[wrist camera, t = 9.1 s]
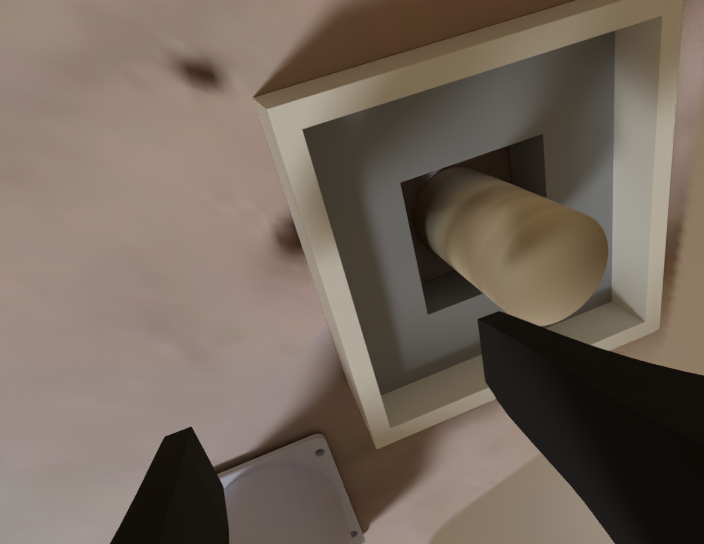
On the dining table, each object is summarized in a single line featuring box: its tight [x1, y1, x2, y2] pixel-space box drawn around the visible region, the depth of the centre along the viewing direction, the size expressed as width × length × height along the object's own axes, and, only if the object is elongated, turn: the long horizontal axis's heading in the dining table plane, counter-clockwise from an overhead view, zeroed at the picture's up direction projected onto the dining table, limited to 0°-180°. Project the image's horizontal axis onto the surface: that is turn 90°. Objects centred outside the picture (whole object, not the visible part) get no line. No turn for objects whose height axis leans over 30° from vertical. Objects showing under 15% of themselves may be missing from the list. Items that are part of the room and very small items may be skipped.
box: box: [253, 0, 684, 449], centre depth 19 cm, size 14×14×4 cm
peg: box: [413, 166, 608, 326], centre depth 18 cm, size 4×4×7 cm
